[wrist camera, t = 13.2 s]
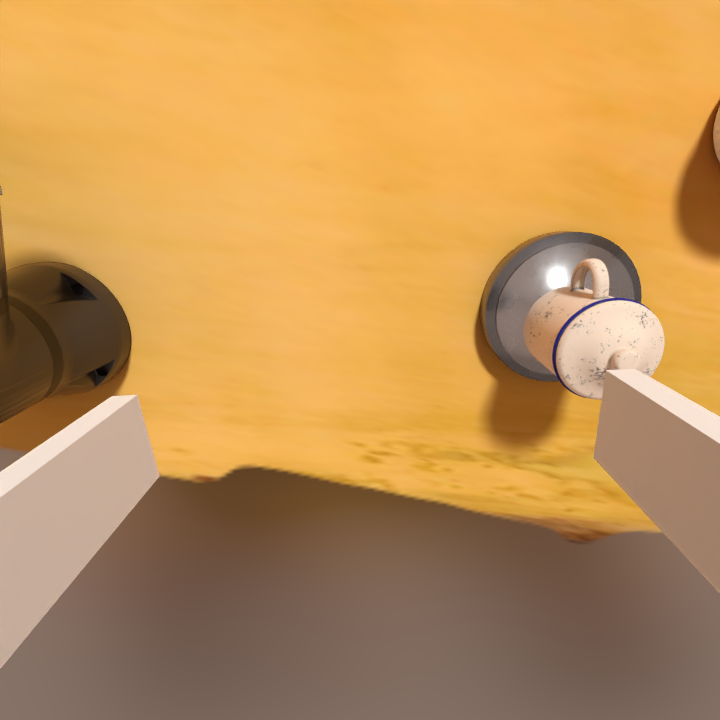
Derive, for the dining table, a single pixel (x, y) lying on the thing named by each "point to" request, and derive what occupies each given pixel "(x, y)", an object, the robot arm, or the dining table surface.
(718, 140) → the ramekin
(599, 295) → the teacup with lid
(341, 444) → the dining table surface
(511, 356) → the dark gray round plate
